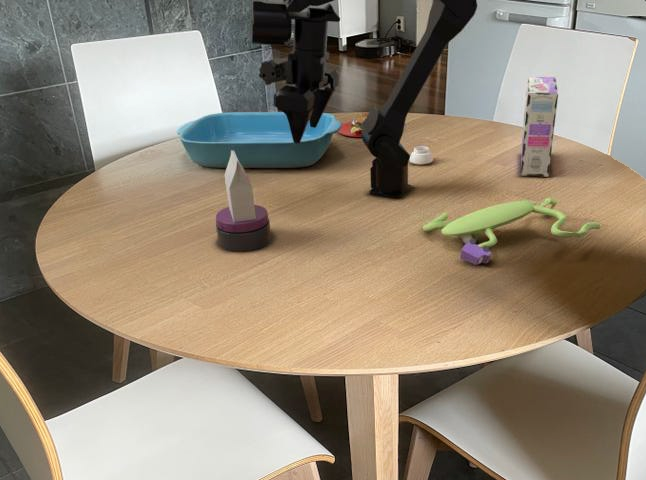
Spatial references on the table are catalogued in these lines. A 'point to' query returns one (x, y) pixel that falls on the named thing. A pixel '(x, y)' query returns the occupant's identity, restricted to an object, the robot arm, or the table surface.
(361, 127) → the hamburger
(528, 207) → the figurine
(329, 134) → the casserole dish
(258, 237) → the jar
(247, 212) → the paper tea packet
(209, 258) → the table surface
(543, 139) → the candy box
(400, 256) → the table surface
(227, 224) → the jar lid
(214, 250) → the table surface
